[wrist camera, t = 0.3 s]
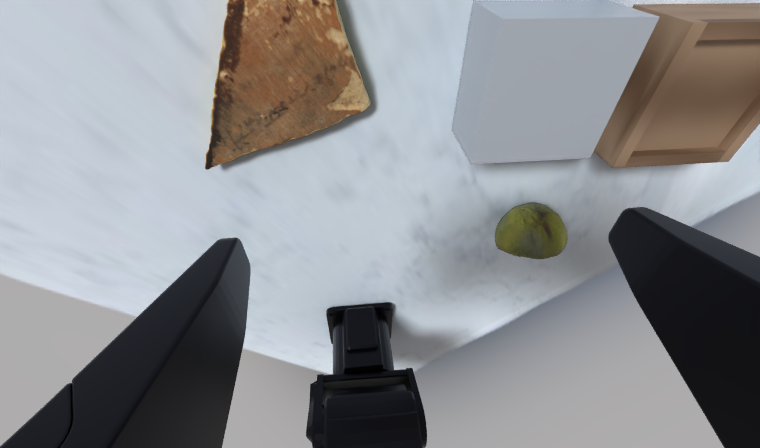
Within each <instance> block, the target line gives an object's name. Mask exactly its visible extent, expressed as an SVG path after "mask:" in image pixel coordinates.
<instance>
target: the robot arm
mask: <svg viewBox="0 0 760 448" xmlns="http://www.w3.org/2000/svg"><path fill="white" fill-rule="evenodd" d="M609 243H610V245H611V247H612V250H613V252H614V254H615V256H616V258H617V260H618V262H619V265H620V267H621V269H622V271H623V273H624V275H625V278H626V280H627V282H628V284H629V286H630V288H631V290H632V292H633V294H634V296H635V298H636V300H637V302H638V303H639V305H640V307H641V308H642V310H643V312H644V314H645V315H646V317H647V319H648V320H649V322H650V324H651V325H652V327H653V329H654V330H655V332H656V334H657V335H658V337H659V339H660V340H661V342H662V344H663V345H664V347H665V349H666V351H667V352H668V354H669V356H670V357H671V359H672V361H673V362H674V364H675V366H676V367H677V369H678V370H679V372H680V374H681V376H682V377H683V379H684V381H685V382H686V384H687V386H688V387H689V389H690V391H691V392H692V394H693V396H694V398H695V399H696V401H697V402H698V404H699V406H700V407H701V409H702V411H703V413H704V414H705V416H706V417H707V419H708V421H709V423H710V424H711V426H712V428H713V429H714V431H715V433H716V434H717V436H718V438H719V440H720V441H721V443H722V445H723V446H724V448H760V257H759V256H756V255H754V254H752V253H749V252H747V251H745V250H743V249H740V248H738V247H736V246H733V245H731V244H729V243H726V242H724V241H722V240H720V239H717V238H715V237H713V236H710V235H708V234H706V233H704V232H701V231H699V230H697V229H694V228H692V227H690V226H687V225H685V224H683V223H680V222H678V221H676V220H674V219H671V218H669V217H667V216H664V215H662V214H660V213H657V212H655V211H653V210H651V209H648V208H645V207H637V208H628V209H625V210H624V211H623V212H622V213H621V215H620V216H619V218H618V219H617V221H616V223H615V224H614V226H613V228H612V229H611V231H610V233H609ZM249 284H250V263H249V260H248V258H247V255H246V252H245V250H244V247H243V245H242V242H241V241H240V239H238V238H225V239H219V240H218V241H216V242H215V243H214V244H213V245H212V246H211V247H210V248H209V249H208V250H207V251H206V252H205V253H204V254H203V255H202V256H201V257H200V258H199V259H198V260H196V261H195V262H194V263H193V264H192V265H191V266H190V267H189V268H188V269H187V270H186V271H185V272H184V273H183V274H182V275H181V276H180V277H179V278H178V279H177V280H176V281H175V282H173V283H172V284H171V285H170V286H169V287H168V288H167V289H166V290H165V291H164V292H163V293H162V294H161V295H160V296H159V297H158V298H157V299H156V300H155V301H154V302H153V303H152V304H150V305H149V306H148V307H147V308H146V309H145V310H144V311H143V312H142V313H141V314H140V315H139V316H138V317H137V318H136V319H135V320H134V321H133V322H132V323H131V324H130V325H129V326H128V327H126V328H125V329H124V330H123V331H122V332H121V333H120V334H119V335H118V336H117V337H116V338H115V339H114V340H113V341H112V342H111V343H110V344H109V345H108V346H107V347H106V348H105V349H104V350H103V351H102V352H100V353H99V354H98V355H97V356H96V357H95V358H94V359H93V360H92V361H91V362H90V363H89V364H88V365H87V366H86V367H85V368H84V369H83V370H82V371H81V372H79V373H78V374H77V375H76V376H75V377H74V378H73V380H72V383H69V384H67V385H66V386H65V387H64V388H63V389H61V390H60V391H59V393H57V394H56V395H55V396H54V397H53V398H52V399H51V400H50V401H49V402H48V403H47V404H46V405H45V406H44V407H43V408H41V409H40V410H39V411H38V412H37V413H36V414H35V415H34V416H33V417H32V418H31V419H30V420H29V421H27V423H26V424H24V425H23V426H22V427H21V428H20V429H19V430H18V431H17V432H16V433H15V434H13V435H12V436H11V437H10V438H9V439H8V440H7V441H6V442H5V443H3V444H2V445H1V446H0V448H222V444H223V439H224V434H225V429H226V424H227V419H228V415H229V410H230V405H231V400H232V396H233V391H234V386H235V381H236V376H237V372H238V367H239V361H240V357H241V353H242V348H243V343H244V337H245V330H246V320H247V308H248V296H249ZM392 310H393V309H392V304H390V303H383V304H372V305H360V306H348V307H336V308H329V309H327V313H326V315H327V321H328V326H329V332H330V338H331V343H332V344H333V375H324V374H320V375H317V381H316V382H314V383H312V384H311V386H310V405H309V413H308V421H307V430H306V436H307V438H308V439H309V440H310V441H311V442H312V445H313V448H425V447H426V442H427V429H426V420H425V414H424V409H423V405H422V402H421V398H420V395H419V391H418V387H417V383H416V380H415V376H414V373H413V369H412V368H406V369H405V370H394V365H393V358H392V351H391V344H390V338H391V326H392Z"/></svg>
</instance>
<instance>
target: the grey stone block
mask: <svg viewBox="0 0 760 448" xmlns="http://www.w3.org/2000/svg"><path fill="white" fill-rule="evenodd" d="M659 18H660V17H659V16H656V15H653V14H649V13H646V12H643V11H640V10H637V9H634V8H630V7H627V6H624V5H621V4H618V3H615V2H612V1H608V0H482V1H473V5H472V11H471V17H470V23H469V29H468V35H467V41H466V47H465V53H464V59H463V66H462V72H461V78H460V84H459V90H458V96H457V102H456V108H455V114H454V120H453V126H452V131H453V133H454V135H455V137H456V139H457V140H458V142H459V144H460V146H461V148H462V149H463V151H464V153H465V155H466V157H467V159H468V160H469V162H470V164H485V163H505V162H525V161H544V160H564V159H584V158H590V157H591V155H592V153H593V151H594V149H595V147H596V145H597V143H598V141H599V139H600V137H601V135H602V133H603V131H604V129H605V127H606V125H607V123H608V121H609V119H610V117H611V115H612V113H613V111H614V109H615V107H616V105H617V103H618V101H619V99H620V97H621V95H622V93H623V91H624V89H625V87H626V84H627V82H628V80H629V78H630V76H631V74H632V72H633V70H634V68H635V66H636V64H637V62H638V60H639V58H640V56H641V54H642V52H643V50H644V48H645V46H646V44H647V42H648V40H649V38H650V36H651V34H652V32H653V30H654V28H655V26H656V24H657V22H658V20H659Z"/></svg>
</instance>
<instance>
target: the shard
mask: <svg viewBox="0 0 760 448" xmlns="http://www.w3.org/2000/svg"><path fill="white" fill-rule="evenodd" d="M369 105H371V102H370V99H369V95H368V93H367V90H366V88H365V86H364V84H363V79H362V76H361V74H360V71H359V69H358V66H357V63H356V60H355V58H354V54H353V52H352V49H351V47H350V44H349V41H348V39H347V35H346V32H345V29H344V25H343V21H342V18H341V14H340V11H339V8H338V5H337V1H336V0H228V3H227V16H226V19H225V22H224V28H223V40H222V49H221V52H220V57H219V68H218V73H217V79H216V82H215V89H214V98H213V107H212V114H211V139H210V145H209V150H208V152H207V153H206V165H205V169H210V168H211V167H215V166H217V165H219V164H222V163H226V162H228V161H232V160H234V159H236V158H238V157H240V156H242V155H243V154H248V153H250V152H254V151H256V150H260V149H264V148H266V147H272V146H276V145H280V144H282V143H285V142H287V141H290V140H292V139H296V138H301V137H303V136H307V135H309V134H311V133H313V132H314V131H317V130H323V129H325V128H327V127H329V126H331V125H334V124H336V123H339V122H341V121H342V119H343V118H345V117H348V116H352V115H354V114H358V113H360V112H363V111H364V110H365V109H366V108H367V107H368V106H369Z"/></svg>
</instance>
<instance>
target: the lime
mask: <svg viewBox="0 0 760 448" xmlns="http://www.w3.org/2000/svg"><path fill="white" fill-rule="evenodd" d="M495 242H496V245H497V247H498V249H500V250H502V251H504V252H506V253H509V254H512V255H515V256H519V257H521V256H522V257H527V258H532V259H544V258H549V257H553V256H557V255H558V254H560V253H561V251H562V250H563V249H564V247H565V246H566V243H567V230H566V228H565V226H564V223H563V221H562V219H561V217H560V216H559V215H558V214H557V213H556V212H554V211H553V210H552V209H550V208H549V207H547V206H545V205H541V204H537V203H527V204H524V205H520V206H516V207H514V208H513V209H512V210H510V211H509V212H508V213H507V214H506V215H505V216H504V217H503V218H502V219H501V220H500V222H499V223H498V226H497V228H496V232H495Z"/></svg>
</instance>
